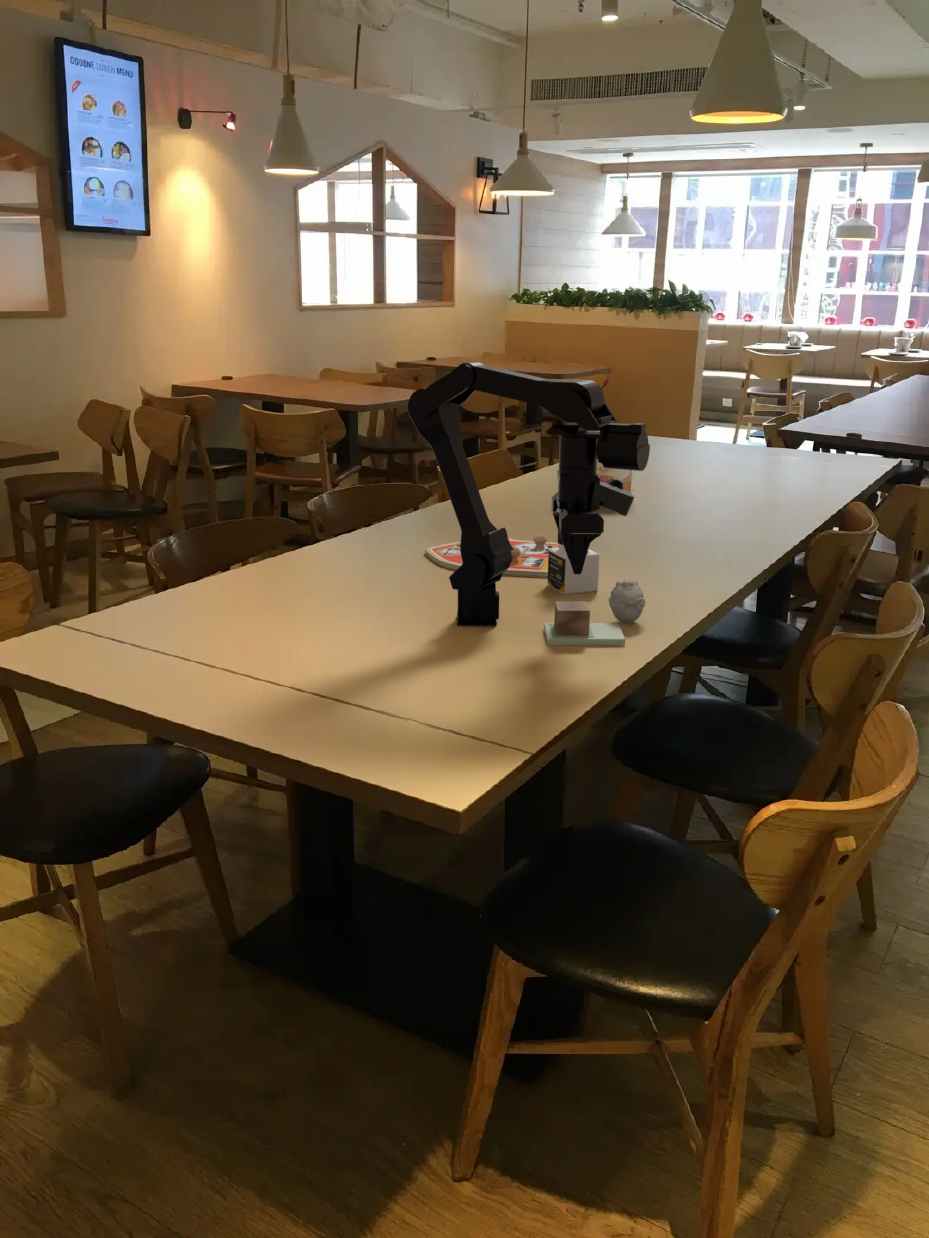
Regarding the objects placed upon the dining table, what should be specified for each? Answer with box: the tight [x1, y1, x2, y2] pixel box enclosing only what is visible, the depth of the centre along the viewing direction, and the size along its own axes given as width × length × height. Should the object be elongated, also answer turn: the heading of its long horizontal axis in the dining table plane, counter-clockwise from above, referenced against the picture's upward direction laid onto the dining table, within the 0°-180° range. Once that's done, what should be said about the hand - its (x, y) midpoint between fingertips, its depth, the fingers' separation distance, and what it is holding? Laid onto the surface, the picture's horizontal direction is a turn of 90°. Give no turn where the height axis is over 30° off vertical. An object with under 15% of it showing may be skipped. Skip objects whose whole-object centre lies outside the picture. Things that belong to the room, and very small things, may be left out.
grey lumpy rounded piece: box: [608, 579, 646, 624], centre depth 164 cm, size 6×7×7 cm
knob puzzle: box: [424, 534, 559, 579], centre depth 205 cm, size 29×30×4 cm
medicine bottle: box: [547, 530, 600, 596], centre depth 182 cm, size 7×7×12 cm
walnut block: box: [553, 600, 591, 635], centre depth 156 cm, size 5×5×4 cm
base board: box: [543, 622, 626, 646], centre depth 157 cm, size 12×8×1 cm, turn 90°
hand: (574, 566), depth 154 cm, fingers open, 9 cm apart
